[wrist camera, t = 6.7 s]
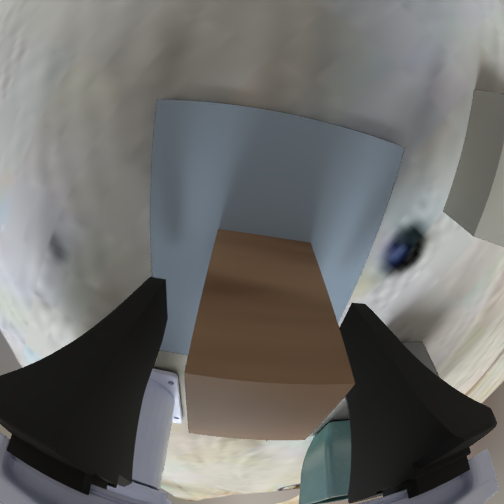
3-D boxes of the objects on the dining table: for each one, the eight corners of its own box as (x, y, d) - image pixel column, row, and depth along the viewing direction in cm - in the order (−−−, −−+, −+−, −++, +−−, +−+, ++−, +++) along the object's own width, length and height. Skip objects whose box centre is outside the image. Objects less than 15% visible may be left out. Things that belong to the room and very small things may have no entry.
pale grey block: (480, 224, 12) (510, 249, 9) (440, 209, 12) (473, 236, 9) (509, 120, 8) (545, 132, 6) (470, 89, 8) (510, 95, 5)
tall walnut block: (288, 310, 14) (304, 439, 8) (210, 300, 13) (188, 432, 7) (310, 242, 12) (355, 383, 6) (218, 229, 11) (184, 372, 5)
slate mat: (312, 360, 17) (314, 367, 16) (161, 343, 16) (159, 350, 16) (398, 145, 10) (404, 147, 9) (161, 99, 9) (157, 99, 9)
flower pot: (358, 436, 27) (368, 495, 19) (293, 442, 26) (297, 507, 18) (393, 405, 22) (412, 476, 15) (318, 413, 22) (328, 498, 14)
